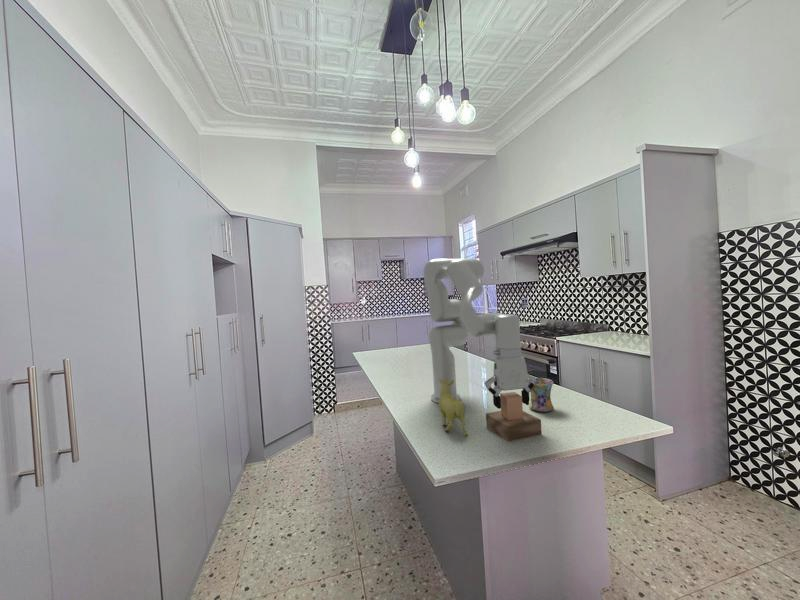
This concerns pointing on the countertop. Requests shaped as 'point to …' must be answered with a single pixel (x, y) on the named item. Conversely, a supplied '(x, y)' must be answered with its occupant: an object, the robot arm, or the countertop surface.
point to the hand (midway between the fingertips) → (511, 405)
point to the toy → (451, 407)
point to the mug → (541, 395)
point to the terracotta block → (511, 405)
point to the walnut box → (513, 426)
